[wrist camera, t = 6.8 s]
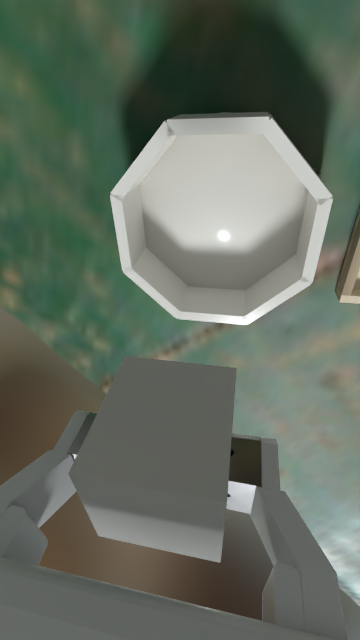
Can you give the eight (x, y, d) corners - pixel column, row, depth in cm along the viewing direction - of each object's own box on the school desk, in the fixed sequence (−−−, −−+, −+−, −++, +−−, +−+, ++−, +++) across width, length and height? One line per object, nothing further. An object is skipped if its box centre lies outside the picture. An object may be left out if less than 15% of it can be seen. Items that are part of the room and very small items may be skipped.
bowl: (334, 108, 18) (353, 114, 14) (295, 295, 25) (301, 329, 22) (125, 115, 20) (97, 121, 16) (145, 285, 27) (129, 314, 24)
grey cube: (236, 368, 11) (226, 502, 7) (229, 436, 13) (220, 562, 10) (125, 356, 11) (68, 474, 8) (138, 423, 14) (98, 536, 10)
